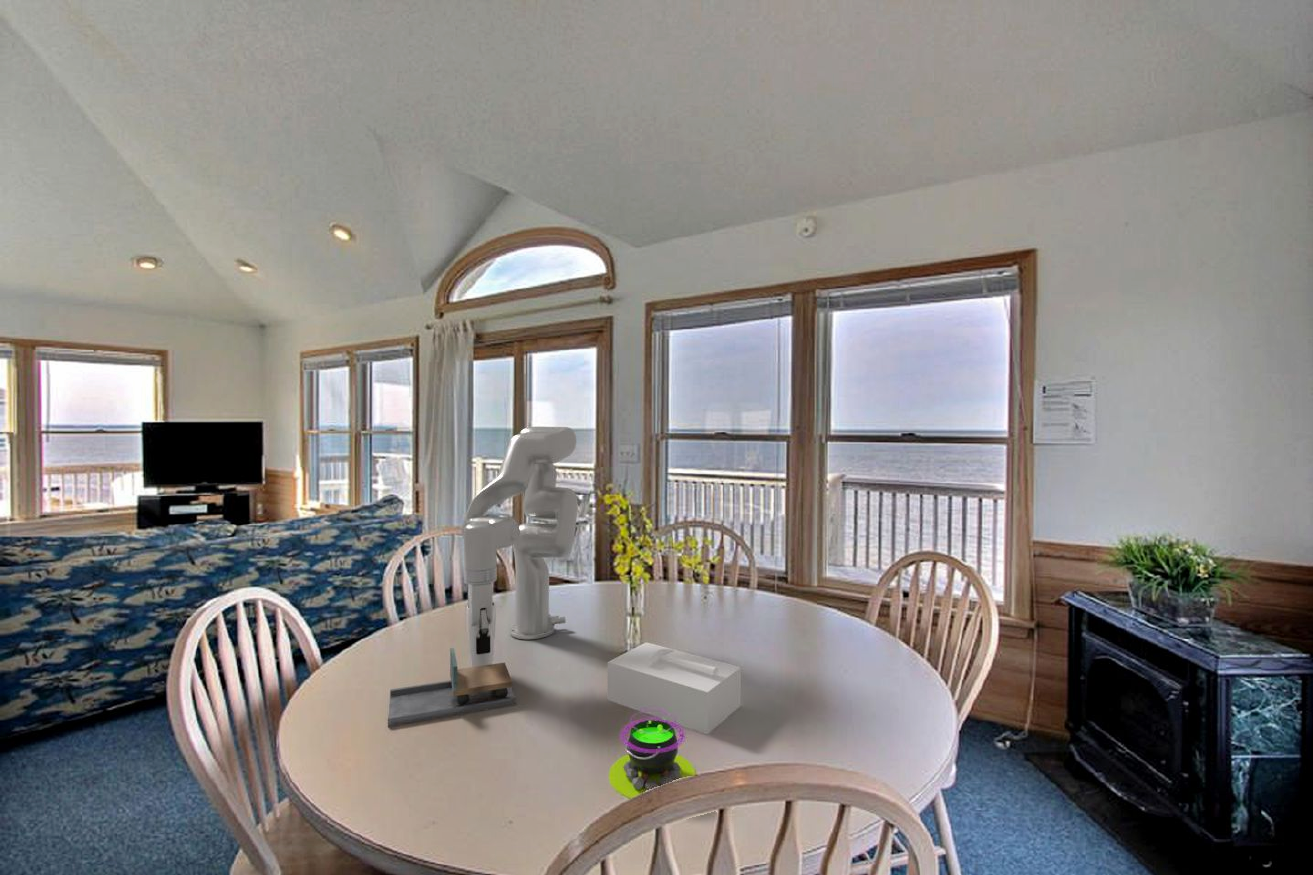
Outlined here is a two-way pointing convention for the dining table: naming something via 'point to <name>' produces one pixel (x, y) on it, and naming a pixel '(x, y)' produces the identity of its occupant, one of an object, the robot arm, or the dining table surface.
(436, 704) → the rail
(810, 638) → the dining table surface
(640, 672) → the white hammer mold block
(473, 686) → the cart
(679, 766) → the toy cauldron
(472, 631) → the drinking glass
